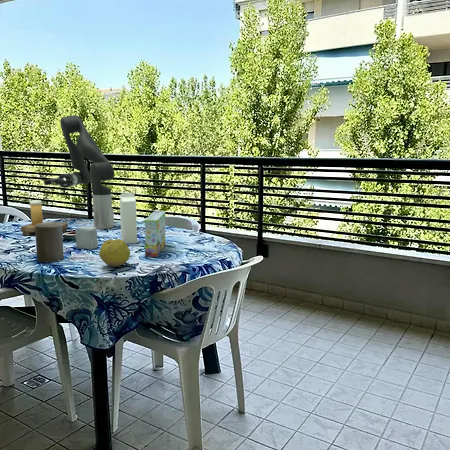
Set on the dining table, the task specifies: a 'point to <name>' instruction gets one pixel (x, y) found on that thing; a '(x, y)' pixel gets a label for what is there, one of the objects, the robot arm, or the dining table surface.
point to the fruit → (114, 252)
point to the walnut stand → (30, 228)
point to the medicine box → (86, 237)
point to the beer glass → (36, 212)
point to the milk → (128, 218)
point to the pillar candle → (49, 242)
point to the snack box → (154, 233)
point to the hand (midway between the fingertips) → (52, 183)
